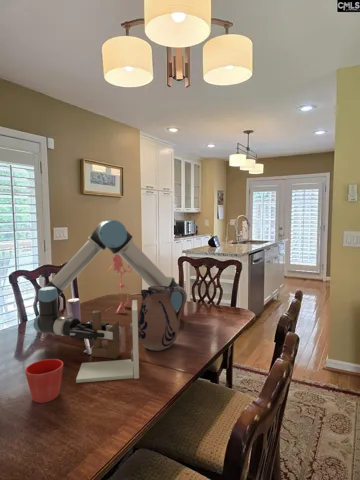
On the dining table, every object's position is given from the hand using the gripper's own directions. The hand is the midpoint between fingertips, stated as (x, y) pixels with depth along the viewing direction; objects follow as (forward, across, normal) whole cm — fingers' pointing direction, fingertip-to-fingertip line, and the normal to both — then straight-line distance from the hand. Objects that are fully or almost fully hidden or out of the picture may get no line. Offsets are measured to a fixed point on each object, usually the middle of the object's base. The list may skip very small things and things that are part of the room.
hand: (116, 333), depth 126 cm
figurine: (-33, -56, -10) cm, 65 cm away
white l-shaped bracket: (+4, +11, -10) cm, 15 cm away
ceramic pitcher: (+12, -16, -10) cm, 23 cm away
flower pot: (-7, +30, -10) cm, 33 cm away
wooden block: (-5, 0, -10) cm, 12 cm away
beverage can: (-37, -21, -10) cm, 43 cm away
